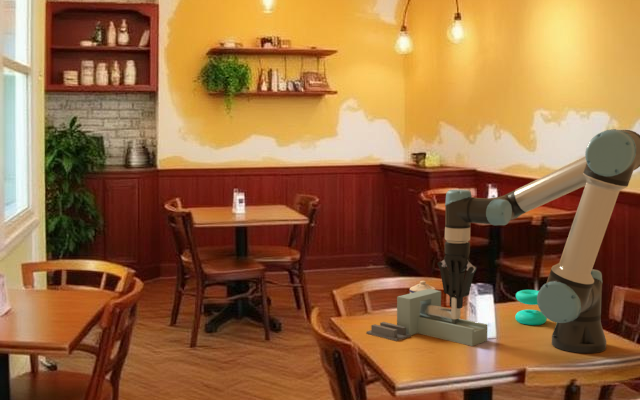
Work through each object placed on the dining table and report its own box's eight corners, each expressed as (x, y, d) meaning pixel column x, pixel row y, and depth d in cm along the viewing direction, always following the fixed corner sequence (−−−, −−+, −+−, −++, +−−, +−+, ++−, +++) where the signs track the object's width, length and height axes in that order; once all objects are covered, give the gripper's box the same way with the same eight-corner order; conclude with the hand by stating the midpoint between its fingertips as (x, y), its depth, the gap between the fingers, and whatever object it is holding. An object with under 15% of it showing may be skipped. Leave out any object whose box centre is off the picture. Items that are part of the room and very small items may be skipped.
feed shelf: (487, 340, 228) (487, 324, 228) (472, 346, 222) (472, 329, 222) (433, 328, 242) (433, 312, 242) (417, 333, 237) (417, 317, 236)
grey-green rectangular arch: (440, 326, 245) (441, 291, 244) (409, 335, 234) (409, 299, 233) (428, 323, 249) (428, 288, 247) (396, 332, 237) (397, 296, 236)
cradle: (411, 336, 233) (411, 327, 232) (396, 341, 228) (396, 332, 228) (381, 329, 241) (381, 320, 241) (366, 333, 236) (366, 324, 236)
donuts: (522, 287, 256) (552, 291, 250) (522, 316, 257) (551, 321, 251) (510, 292, 248) (540, 296, 242) (510, 322, 249) (539, 327, 243)
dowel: (457, 324, 233) (460, 310, 234) (449, 323, 230) (452, 308, 230) (406, 313, 247) (409, 300, 248) (398, 311, 244) (400, 298, 245)
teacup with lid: (434, 318, 254) (435, 284, 253) (407, 317, 256) (407, 283, 255) (437, 310, 266) (438, 277, 265) (411, 309, 268) (411, 276, 267)
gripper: (482, 242, 226) (481, 319, 229) (446, 237, 236) (445, 312, 238) (468, 245, 221) (466, 324, 224) (432, 240, 230) (430, 316, 233)
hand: (455, 318), depth 231 cm, fingers closed
